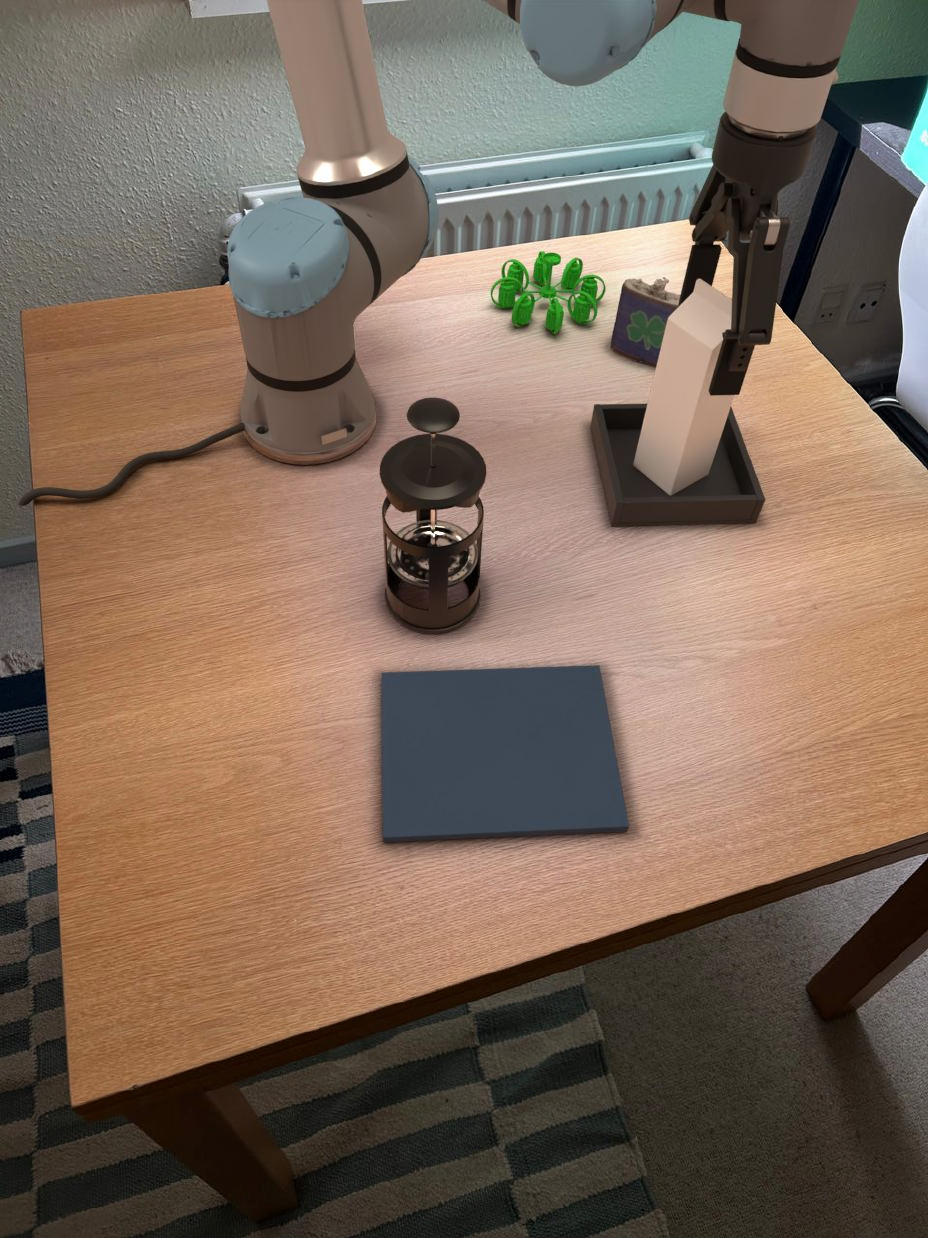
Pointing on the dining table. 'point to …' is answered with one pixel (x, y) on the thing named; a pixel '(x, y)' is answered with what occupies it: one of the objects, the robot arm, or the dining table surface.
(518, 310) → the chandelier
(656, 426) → the milk
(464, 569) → the french press
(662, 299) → the flask
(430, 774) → the mat
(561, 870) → the dining table surface
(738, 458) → the tray
